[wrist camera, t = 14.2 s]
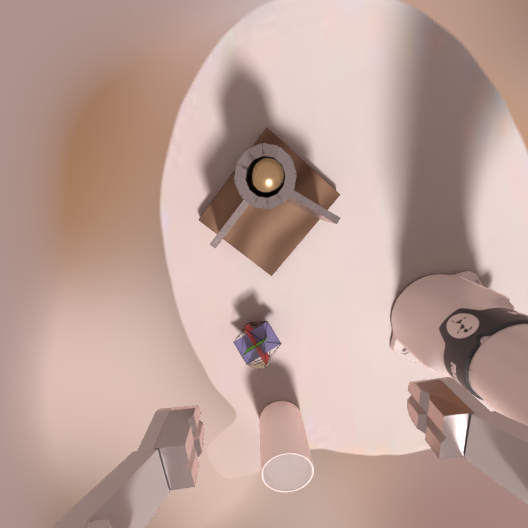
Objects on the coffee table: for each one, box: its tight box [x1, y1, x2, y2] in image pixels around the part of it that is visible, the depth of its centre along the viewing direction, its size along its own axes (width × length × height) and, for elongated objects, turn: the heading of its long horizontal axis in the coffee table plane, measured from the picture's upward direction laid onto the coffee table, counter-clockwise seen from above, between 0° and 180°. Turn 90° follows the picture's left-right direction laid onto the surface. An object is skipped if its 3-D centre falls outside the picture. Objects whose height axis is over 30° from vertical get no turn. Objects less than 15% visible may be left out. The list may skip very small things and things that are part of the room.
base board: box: [199, 128, 340, 276], centre depth 37 cm, size 14×16×2 cm
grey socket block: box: [210, 143, 340, 248], centre depth 32 cm, size 13×13×9 cm
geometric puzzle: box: [233, 321, 282, 369], centre depth 40 cm, size 7×7×8 cm
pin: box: [252, 158, 284, 194], centre depth 29 cm, size 3×3×12 cm
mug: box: [260, 401, 314, 492], centre depth 43 cm, size 12×8×10 cm
